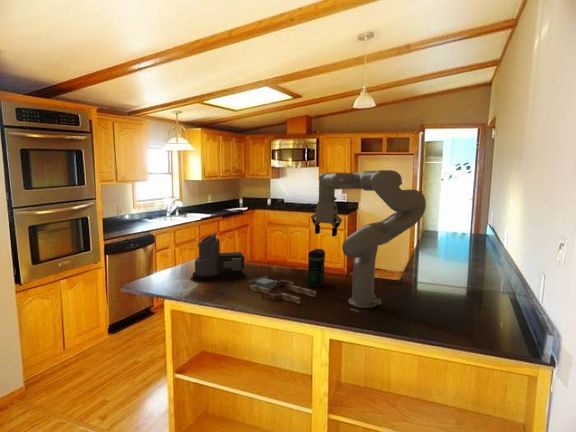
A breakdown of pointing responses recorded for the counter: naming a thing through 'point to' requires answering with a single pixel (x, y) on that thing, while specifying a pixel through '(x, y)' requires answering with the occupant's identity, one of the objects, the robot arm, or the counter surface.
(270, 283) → the gray block
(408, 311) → the counter surface
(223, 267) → the juicer
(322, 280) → the coffee jar
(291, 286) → the trap channel
